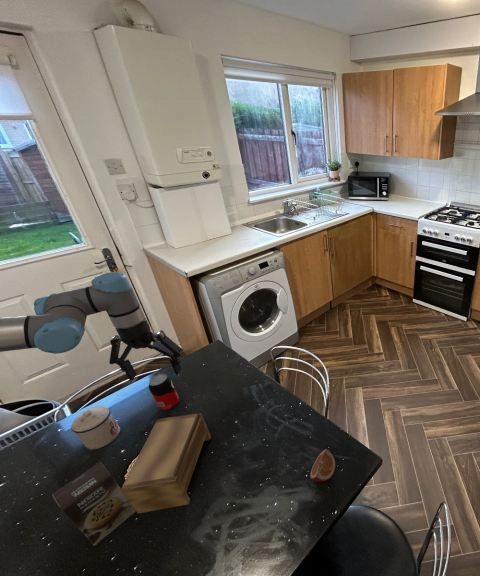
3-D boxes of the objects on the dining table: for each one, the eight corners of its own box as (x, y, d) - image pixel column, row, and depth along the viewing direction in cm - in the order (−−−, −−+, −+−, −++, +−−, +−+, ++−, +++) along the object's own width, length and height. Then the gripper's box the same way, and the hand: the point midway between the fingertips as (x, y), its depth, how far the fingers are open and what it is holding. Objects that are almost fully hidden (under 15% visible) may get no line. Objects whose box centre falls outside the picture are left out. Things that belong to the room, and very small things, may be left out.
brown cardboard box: (94, 547, 73) (60, 511, 65) (83, 530, 76) (49, 494, 68) (137, 510, 80) (111, 474, 72) (126, 496, 83) (99, 460, 75)
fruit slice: (318, 456, 93) (316, 446, 90) (339, 460, 92) (338, 450, 89) (306, 485, 86) (304, 474, 83) (330, 490, 85) (328, 479, 82)
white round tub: (123, 438, 97) (107, 413, 92) (85, 456, 92) (66, 431, 86) (118, 414, 105) (103, 389, 100) (83, 430, 100) (65, 405, 94)
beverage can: (173, 411, 106) (161, 386, 100) (154, 411, 106) (141, 386, 100) (183, 397, 112) (173, 372, 106) (166, 396, 112) (154, 372, 106)
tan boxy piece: (137, 513, 79) (118, 487, 73) (169, 442, 96) (156, 416, 90) (188, 504, 81) (173, 477, 75) (211, 436, 98) (200, 410, 92)
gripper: (180, 311, 97) (200, 361, 107) (90, 319, 93) (120, 371, 103) (171, 325, 91) (193, 377, 101) (73, 334, 87) (107, 388, 97)
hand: (156, 374), depth 102 cm, fingers open, 13 cm apart
